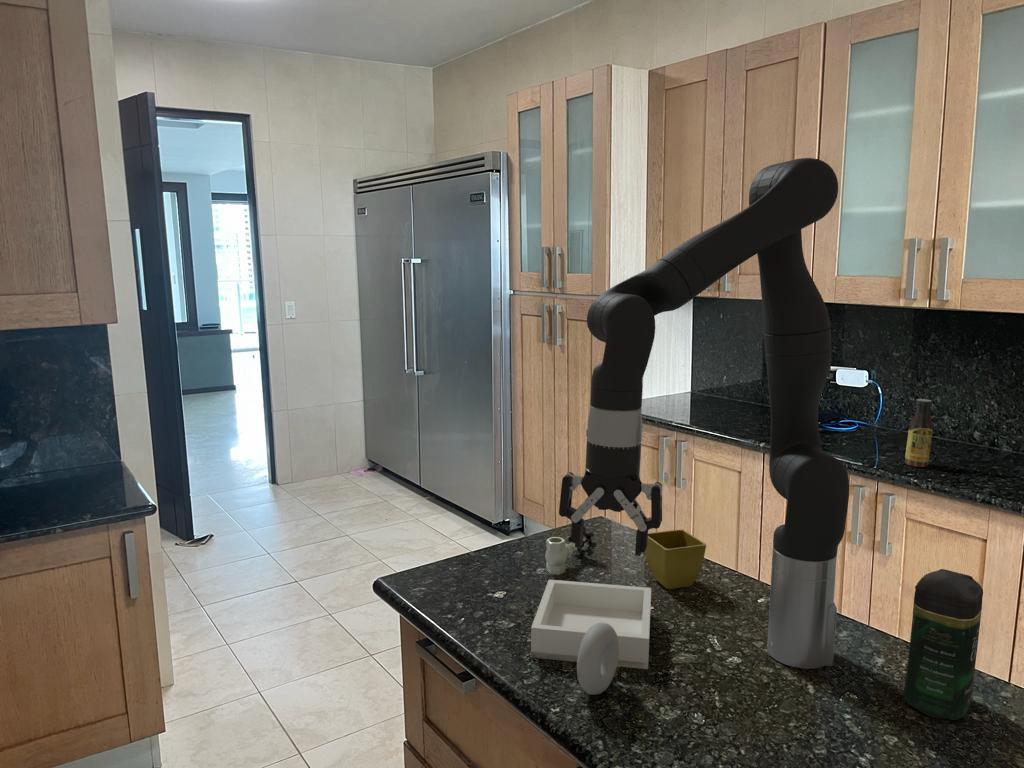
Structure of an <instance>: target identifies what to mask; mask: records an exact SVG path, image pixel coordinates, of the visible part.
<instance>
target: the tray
mask: <svg viewBox="0 0 1024 768" xmlns="http://www.w3.org/2000/svg"><path fill="white" fill-rule="evenodd" d="M651 604H652V587H645V586H632V585H619V584H607V583H595V582H585V581H584V582H583V581H573V580H572V581H571V580H561V579H560V580H557V579H548V581H547V583H546V586H545V589H544V591H543V594H542V597H541V600H540V603H539V604H538V607H537V610H536V612H535V616H534V619H533V621H532V625H531V627H530V629H531V630H530V637H531V638H530V640H531V641H530V642H531V643H530V644H531V645H530V647H531V648H530V652H531V653H530V655H531V656H530V658H534V659H542V660H543V659H545V660H553V661H554V660H555V661H563V662H572V663H575V662H576V663H577V659H578V653H579V649H580V645H581V642H582V640H583V638H584V636H585V634H586V632H587V631H588V629H589V628H590V627H591V626H593V625H594V624H596V623H599V622H600V623H607V624H609V625H611V626H612V627H613V629H614V630H615V632H616V634H617V637H618V644H619V654H618V662H617V667H619V668H620V667H623V668H629V669H630V668H631V669H632V668H633V669H641V670H649V657H650V656H649V653H650V634H651V633H650V632H651V611H652V610H651V608H652V607H651V606H652V605H651Z"/></svg>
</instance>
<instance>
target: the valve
mask: <svg viewBox="0 0 1024 768" xmlns="http://www.w3.org/2000/svg"><path fill="white" fill-rule="evenodd" d="M586 530H587V528H586V527H585V526H584V531H583V544H582V546H581V548H577V547H575V543H572V540H571V536H568V538H567V541H568V542H569V544H568V543H567V541H566V540H565V539H564V538H562V537H559V536H553V537H549V538H547V539H546V541H545V542H546V543H545V544H546V550H545V553H544V554H545V555H544V556H545V557H544V559H545V560H546V564H545V566H546V569H545V571H546V570H547V571H548V572H549V573H550V574H549V573H548V572H547V571H546V572H547V573H548V574H549V575H554V574H557V575H558V576H560V575H562V574H564V573H565V572H566V564H565V563H566V561H567V559H569V558H571V557H572V555H573V553H575V552H577V553H578V557H579V558H581V557H582V559H583V558H584V557H586V555H587V557H591V556H593V555H594V551H593V549H595V548H597V546H598V545H597V542H596V541H592V538H594V533H593V532H591V531H590V532H586ZM585 538H586V539H585ZM587 543H588V544H587ZM586 545H588V546H587V548H585V549H583V548H584V547H585V546H586ZM557 575H556V576H557Z"/></svg>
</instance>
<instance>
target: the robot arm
mask: <svg viewBox="0 0 1024 768" xmlns="http://www.w3.org/2000/svg"><path fill="white" fill-rule="evenodd" d="M751 181H752V182H751V184H750V186H749V193H748V194H749V195H748V206H747V207H746V208H745V209H743V210H741V211H739V212H738V213H736V214H735V215H733V216H731V217H729V218H728V219H725V220H723V221H721V222H720V223H718V224H716V225H714V226H712V227H710V228H707V229H706V230H703V231H702V232H700V233H698V234H696V235H694V236H692V237H691V238H689V239H687V240H686V241H684V242H683V243H681V244H679V245H678V246H676V247H675V248H673V249H672V250H671V251H669V252H668V253H666V254H665V255H664V256H662V257H661V258H660V259H658V260H657V261H655V262H654V263H653V264H652V265H651V266H649V267H648V268H647V269H644V270H642V271H641V272H639V273H637V274H635V275H632V276H631V277H629V278H627V279H625V280H622V281H621V282H619V283H618V284H614V285H613V286H612V287H610V288H609V289H607V290H605V291H604V292H602V293H601V294H600V295H599V296H597V297H596V299H594V301H593V302H592V303H591V305H590V306H589V309H588V311H587V314H586V325H587V328H588V330H589V332H590V334H591V335H592V336H593V337H594V338H595V339H597V340H598V341H600V342H602V343H605V347H604V352H603V355H602V356H603V358H602V361H601V363H599V364H597V365H596V366H595V367H594V368H593V371H592V375H591V384H590V399H589V400H590V401H589V404H590V405H589V413H588V418H587V423H586V425H587V428H586V431H585V434H586V445H585V446H586V449H585V450H586V451H585V468H584V469H585V471H584V475H582V476H581V475H575V474H574V473H573V472H571V471H568V472H567V473H566V474H565V475H564V476H563V477H562V479H561V485H560V486H561V489H560V497H559V507H558V515H559V516H560V517H562V518H564V517H565V518H567V519H569V520H570V522H571V529H570V530H571V532H570V533H571V534H570V537H571V540H572V542H571V543H575V547H577V548H581V546H582V544H583V538H584V535H583V531H584V527H585V519H584V516H585V515H586V514H587V513H588V512H589V511H590V510H591V508H593V506H594V507H596V508H597V509H598V510H600V511H607V510H610V511H613V512H617V513H621V512H623V511H624V512H625V513H626V514H627V516H628V517H629V519H631V521H632V522H633V523H634V525H635V526H636V528H637V529H636V533H635V534H636V535H635V551H634V555H635V556H637V557H642V554H643V553H646V548H647V541H648V533H649V530H651V529H655V530H656V529H659V528H660V527H661V524H662V522H663V484H662V483H661V482H660V481H655V482H654V483H643V482H642V481H641V476H640V473H641V459H642V458H641V455H642V454H641V453H642V441H643V440H642V439H643V417H642V416H643V413H642V412H643V411H642V408H643V407H642V406H643V405H642V404H643V393H644V392H643V388H644V385H643V383H644V381H643V380H644V374H645V372H646V369H647V367H648V363H649V361H650V357H651V356H650V355H651V352H652V350H653V345H654V341H655V336H656V319H655V318H656V317H655V316H657V315H660V314H661V313H665V312H673V311H675V310H678V309H680V308H682V307H683V306H684V305H686V304H688V303H689V302H690V301H692V300H693V299H694V298H696V297H697V296H698V295H700V294H702V293H703V292H704V291H705V290H707V289H708V288H709V287H711V286H712V285H713V284H715V283H716V282H717V281H719V280H720V279H722V278H723V277H724V276H726V275H727V274H728V273H729V272H731V271H732V270H734V269H736V268H737V267H739V266H740V265H741V264H743V263H745V262H746V261H747V260H750V258H752V257H754V256H757V260H758V269H759V280H760V281H759V283H760V284H759V285H760V292H761V294H760V295H761V304H762V319H763V339H764V340H763V341H764V356H765V362H766V375H767V387H768V397H769V398H768V400H769V407H770V408H769V410H770V437H769V438H770V439H769V440H770V441H769V442H770V443H769V461H768V462H769V463H768V464H769V467H768V471H769V478H770V481H771V484H772V486H773V488H774V489H775V491H776V492H777V493H778V494H779V495H780V496H781V497H782V498H784V499H785V500H786V508H785V509H786V511H785V519H784V523H783V524H781V525H779V526H777V527H776V528H775V529H774V531H773V532H774V533H773V537H772V539H773V541H772V556H771V575H770V587H769V588H770V590H769V607H768V608H769V610H768V623H767V625H768V627H767V636H766V637H767V639H766V640H767V642H766V643H767V646H766V649H767V650H766V651H767V653H768V654H769V655H770V657H772V659H775V661H777V662H779V663H782V664H783V665H786V666H789V667H792V668H797V669H805V670H807V669H808V670H809V669H810V670H811V669H813V670H814V669H819V668H823V667H833V666H834V653H835V639H836V629H837V628H836V627H837V613H838V612H837V610H838V609H837V605H836V604H835V600H834V599H835V589H836V588H835V586H836V574H837V573H836V570H837V560H838V547H839V545H840V543H841V541H842V539H843V537H844V535H845V530H846V524H847V522H846V521H847V516H848V508H849V498H850V477H849V473H848V471H847V468H846V466H845V465H844V463H842V461H840V460H839V459H838V458H836V457H835V456H833V455H832V454H829V453H828V452H825V451H824V450H823V448H822V443H821V438H820V437H821V436H820V427H819V407H820V400H821V397H822V395H823V391H824V388H825V386H826V382H827V380H828V376H829V373H830V369H831V365H832V350H833V349H832V334H831V333H832V332H831V322H830V321H831V320H830V315H829V312H828V311H829V310H828V308H827V306H826V303H825V301H824V299H823V297H822V294H821V292H820V291H819V289H818V287H817V285H816V282H815V281H814V279H813V278H812V276H811V273H810V272H809V269H808V266H807V264H806V262H805V256H804V251H803V250H804V249H803V240H802V239H803V238H802V236H803V235H802V229H804V228H806V227H809V226H810V225H812V224H815V223H816V222H819V221H820V220H821V219H823V218H825V217H826V216H827V215H828V214H829V213H830V212H831V210H832V209H833V207H834V206H835V203H836V201H837V199H838V195H839V183H838V177H837V174H836V173H835V171H834V169H833V168H832V167H831V165H829V164H828V163H827V162H826V161H823V160H822V159H818V158H812V157H802V158H795V159H792V160H787V161H783V162H778V163H773V164H770V165H768V166H766V167H763V168H761V170H759V171H758V172H757V173H756V175H755V176H754V177H753V180H751ZM580 485H581V487H582V489H583V490H584V491H583V492H584V493H585V494H586V496H587V497H586V498H585V499H584V500H583V502H582V503H581V504H580V505H579V506H578V507H577V508H574V507H572V503H573V502H572V500H573V492H574V491H575V490H577V488H578V486H580ZM641 493H644V494H645V498H646V499H647V500H648V501H650V503H651V507H650V508H651V509H650V511H651V512H650V514H651V515H650V517H647V515H646V514H645V513H644V511H643V509H642V506H641V505H640V503H639V502H638V500H637V497H638V496H639V495H640V494H641ZM581 549H582V548H581Z"/></svg>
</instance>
